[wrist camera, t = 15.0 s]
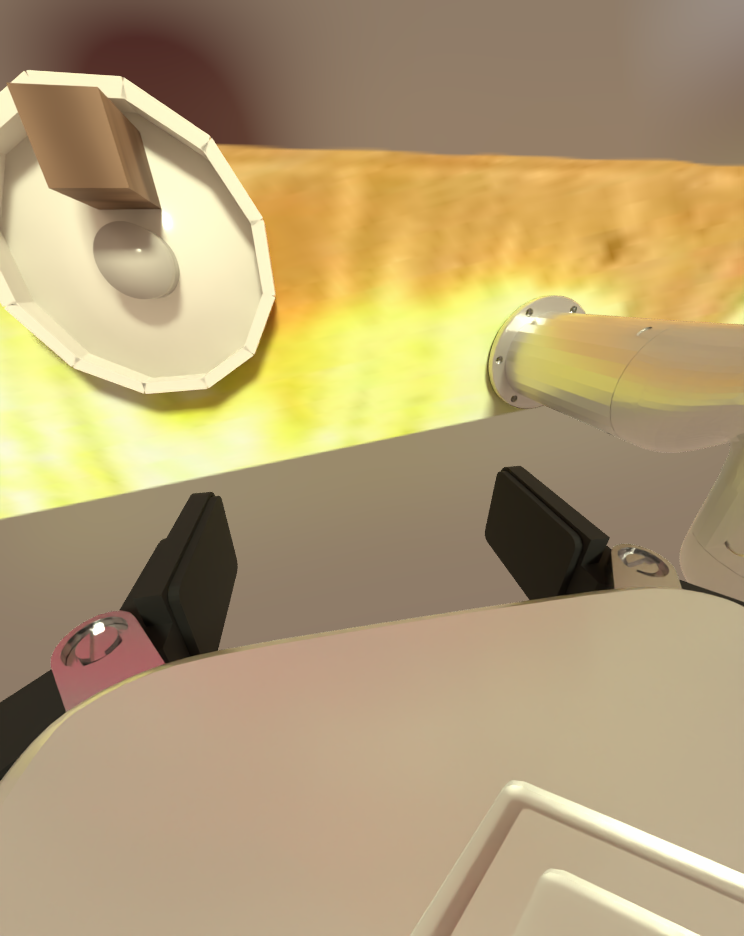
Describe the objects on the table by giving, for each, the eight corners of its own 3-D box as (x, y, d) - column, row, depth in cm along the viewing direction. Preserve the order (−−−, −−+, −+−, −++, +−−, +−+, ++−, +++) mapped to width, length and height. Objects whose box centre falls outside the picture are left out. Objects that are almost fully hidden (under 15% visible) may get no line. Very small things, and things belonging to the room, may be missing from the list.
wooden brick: (139, 132, 24) (97, 87, 18) (161, 209, 26) (129, 188, 20) (70, 130, 23) (5, 82, 18) (98, 209, 25) (48, 188, 20)
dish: (247, 106, 25) (241, 80, 22) (288, 375, 34) (288, 383, 31) (-74, 88, 21) (-134, 54, 18) (71, 392, 31) (47, 403, 28)
